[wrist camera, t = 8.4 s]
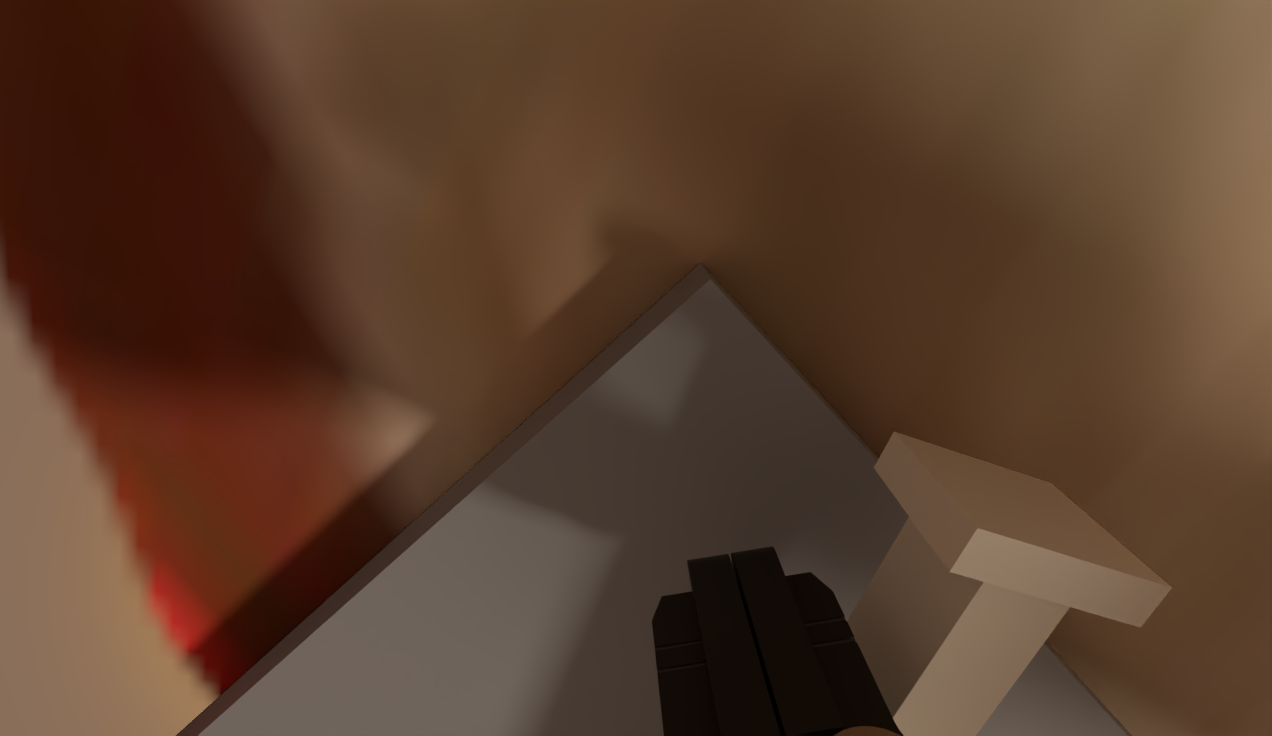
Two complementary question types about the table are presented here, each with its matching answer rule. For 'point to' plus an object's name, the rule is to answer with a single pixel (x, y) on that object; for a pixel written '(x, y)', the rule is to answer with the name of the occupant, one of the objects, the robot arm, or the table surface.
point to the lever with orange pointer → (981, 585)
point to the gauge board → (604, 553)
